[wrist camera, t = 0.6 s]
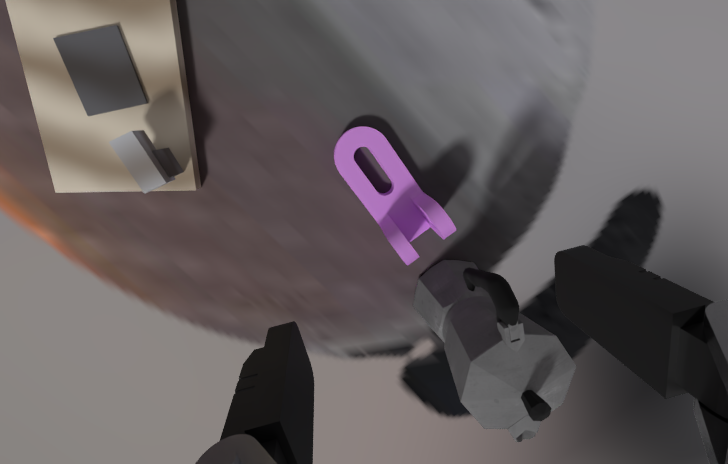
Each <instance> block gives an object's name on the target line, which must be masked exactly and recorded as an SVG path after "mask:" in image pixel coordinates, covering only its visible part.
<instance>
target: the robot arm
mask: <svg viewBox="0 0 728 464" xmlns="http://www.w3.org/2000/svg"><path fill="white" fill-rule="evenodd" d="M554 262H555V284H556V299H557V303H558V305H559V308H560V310H561V311H562V313H563V314H564V315H565V316H566V317H567V318H568V319H569V320H570V321H572V322H573V323H574V324H575V325H576V326H578V327H579V328H580V329H581V330H583V331H584V332H585V333H586V334H587V335H589V336H590V337H591V338H592V339H593V340H595V341H596V342H597V343H598V344H600V345H601V346H602V347H603V348H605V349H606V350H607V351H608V352H609V353H611V354H612V355H613V356H614V357H615V358H617V359H618V360H619V361H620V362H622V363H623V364H624V365H625V366H626V367H627V368H629V369H630V370H631V371H632V372H634V373H635V374H636V375H637V376H638V377H640V378H641V379H642V380H643V381H644V382H646V383H647V384H648V385H649V386H651V387H652V388H653V389H654V390H656V391H657V392H658V393H659V394H660V395H661V396H663V397H664V398H665V399H667V398H671V397H674V396H678V395H681V394H685V393H690V394H691V395H692V396H693V397H695V399H694V406H693V407H694V413H695V416H696V420H697V423H698V426H699V430H700V433H701V436H702V440H703V443H704V447H705V450H706V453H707V457H708V460H709V464H728V300H722V301H717V302H713V301H711V300H708V299H707V298H704V297H702V296H700V295H698V294H696V293H694V292H692V291H689V290H688V289H686V288H683V287H681V286H679V285H677V284H675V283H673V282H671V281H669V280H667V279H664V278H663V279H661V278H660V276H658V275H656V274H654V273H652V272H650V271H648V272H647V271H646V269H644V268H641V267H639V266H637V265H635V264H633V263H631V262H629V261H625V260H621V259H617V258H613V257H609V256H606V255H604V254H602V253H600V252H598V251H596V250H594V249H592V248H590V247H588V246H584V245H582V246H578V247H574V248H571V249H567V250H563V251H559V252H557V253H556V255H555V261H554ZM313 417H314V377H313V371H312V367H311V363H310V361H309V357H308V354H307V352H306V349H305V346H304V343H303V340H302V337H301V334H300V331H299V329H298V326H297V324H296V322H294V321H293V322H290V323H286V324H282V325H278V326H275V327H271V328H269V330H268V333H267V337H266V342H265V346H264V347H263V348H259V349H256V350H254V351H253V352H252V353H251V355H250V356H249V358H248V359H247V360H246V361H245V363H244V364H243V367H242V370H241V373H240V376H239V381H238V383H237V386H236V389H235V394H234V396H233V399H232V403H231V406H230V409H229V412H228V416H227V419H226V422H225V426H224V429H223V432H222V435H221V439H220V441H219V442H217V443H216V444H214V445H213V446H212V447H210V448H209V449H208V450H207V451H206V452H205V453H204V454H203V455H202V456H201V457H200V458H199V460H198V461H197V462H196V464H312V463H313Z"/></svg>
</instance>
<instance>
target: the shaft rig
mask: <svg viewBox="0 0 728 464" xmlns="http://www.w3.org/2000/svg"><path fill="white" fill-rule="evenodd" d="M5 1H6V4H7V8H8V12H9V16H10V20H11V24H12V27H13V31H14V35H15V39H16V43H17V47H18V50H19V54H20V58H21V62H22V66H23V69H24V73H25V77H26V81H27V85H28V89H29V92H30V96H31V100H32V104H33V108H34V112H35V115H36V119H37V123H38V127H39V131H40V135H41V138H42V142H43V146H44V150H45V154H46V158H47V161H48V165H49V169H50V173H51V177H52V181H53V184H54V188H55V192H56V193H64V192H123V191H143V192H144V194H145V193H147V192H150V191H183V190H198V189H199V188H201V182H200V175H199V167H198V160H197V152H196V145H195V137H194V130H193V123H192V115H191V108H190V100H189V93H188V86H187V78H186V71H185V63H184V56H183V49H182V41H181V34H180V26H179V19H178V12H177V4H176V0H5Z"/></svg>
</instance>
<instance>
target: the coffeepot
mask: <svg viewBox="0 0 728 464" xmlns="http://www.w3.org/2000/svg"><path fill="white" fill-rule="evenodd" d="M413 307H414V308H415V309H416V310H417V312H418V313H419V314H420V315H421V317H422V318H423V319H424V320H425V321H426V323H427V324H428V325H429V326H430V327H431V328H432V329H433V331H434V332H435V333H436V334H437V335H438V336H439V337H440V338H441V339H442V340H443V341H444V343H445V346H444V349H445V352H446V355H447V359H448V362H449V365H450V368H451V372H452V375H453V378H454V381H455V385H456V388H457V391H458V395H459V398H460V401H461V403H462V404H463V405H464V406H465V407H466V408H467V410H468V411H469V412H470V413H471V414H472V415H473V416H474V418H475V419H476V420H477V421H478V422H479V423H480V424H481V426H482V427H483V428H485V429H508V431H509V432H510V434H511V435H512V437H513V438H514V440H515V441H516V442H521V441H522V440H523V439H531V438H533V437H534V436H535V434H536V432H538V429H539V426H540V423H541V421H542V420H544V419H545V418H547V417H548V416H549V415H550V412H551V411H553V410H554V409H556V408H557V407H559V406H560V405H562V404H563V401H564V399H565V396H566V393H567V391H568V388H569V385H570V382H571V379H572V376H573V374H574V371H575V368H576V366H575V364H574V362H573V361H572V359H571V358H570V356H569V355H568V353H567V352H566V350H565V349H564V347H563V346H562V344H561V343H560V341H559V340H558V338H557V337H556V335H553V334H552V333H550V332H549V331H547V330H545V329H544V328H542V327H541V326H539V325H538V324H536V323H534V322H533V321H531V320H530V319H528V318H527V317H525V316H523V315H522V314H520V313H519V305H518V301H517V299H516V297H515V295H514V293H513V291H512V289H511V287H510V285H509V284H508V282H507V281H506V280H505V279H504V278H503V277H502V276H500V275H498V274H495V273H490V272H485V271H482V270H479V269H478V268H477V266H476V265H475V263H474V262H467V261H461V260H443V261H441V262H439V263H438V264H436V265H435V266H433V267H431V268H430V269H429V270H428V271H426V272H425V273H424V275H422V276H421V277H420V278H419V279H418V283H417V287H416V290H415V299H414V304H413Z"/></svg>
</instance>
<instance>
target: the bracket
mask: <svg viewBox="0 0 728 464" xmlns="http://www.w3.org/2000/svg"><path fill="white" fill-rule="evenodd" d="M359 147H367V148H368V149H369V150H370V152H371V153H372V154H373V156H374V157H375V159H376V160H377V161H378V163H379V164H380V166H381V167H382V168H383V170H384V171H385V173H386V174H387V176H388V177H389V178H390V180H391V183H392V186H391V188H390V190H389V191H388V192H386V193H379V192H377V191H376V190H375V188H374V187H373V185H372V184H371V183H370V181H369V180H368V179H367V177H366V176H365V175H364V173H363V172H362V170H361V169H360V168H359V166H358V165H357V164H356V162H355V161H354V152H355V151H356V149H358V148H359ZM334 161H335V164H336V167H337V169H338V171H339V173H340V174H341V175H342V177H343V178H344V179H345V181H346V182H347V183H348V185H349V186H350V187H351V189H352V190H353V191H354V192H355V194H356V195H357V196H358V198H359V199H360V200H361V202H362V203H363V204H364V206H365V207H366V208H367V210H368V211H369V212H370V214H371V215H372V216H373V217H374V219H375V220H376V221H377V223H378V224H379V226H380V228H381V229H382V231H383V233H384V235H385V236H386V238H387V239H388V241H389V242H390V244H391V245H392V246H393V248H394V249H395V251H396V252H397V253H398V255H399V256H400V257H401V259H402V260H403V261H404V262H405V263H406V265H407V266H408V265H409V264H410V263H412V262H413V261H415V260H416V259H417V258H419V255H418V254H417V253H416V251H415V250H414V249H413V247H412V246H411V245H410V243H409V242H411V241H412V240H413V239H415V238H416V237H418V236H419V235H420V234H422V233H423V232H424V231H426V230H427V229H429V228H430V227H431V228H432V229H433V230H434V231H435V232H436V233H437V234H438V235H439V236H440V237H441V238H442V239H445V238H446V237H448V236H449V235H451V234H452V233H453V232H455V231H456V228H455V226H454V224H453V222H452V221H451V219H450V218H449V216H448V215H447V214H446V212H445V211H444V210H443V209H442V207H441V206H440V205H439V204H438V203H437V202H436V201H435V200H434V199H432V198H431V197H430V196H428V195H427V194H425V193H424V192H423V191H422V190H421V189H420V187H419V186H418V184H417V183H416V182H415V180H414V179H413V177H412V176H411V174H410V173H409V171H408V170H407V168H406V167H405V165H404V164H403V163H402V161H401V160H400V158H399V157H398V155H397V154H396V152H395V151H394V149H393V148H392V146H391V145H390V144H389V142H388V141H387V139H386V138H385V136H384V135H383V134H382V133H380V132H379V131H377V130H376V129H373V128H370V127H365V126H359V127H354V128H351V129H349V130H347V131H346V132H345V133H343V134H342V135H341V137H340V138H339V139H338V141H337V143H336V145H335V149H334Z"/></svg>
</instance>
